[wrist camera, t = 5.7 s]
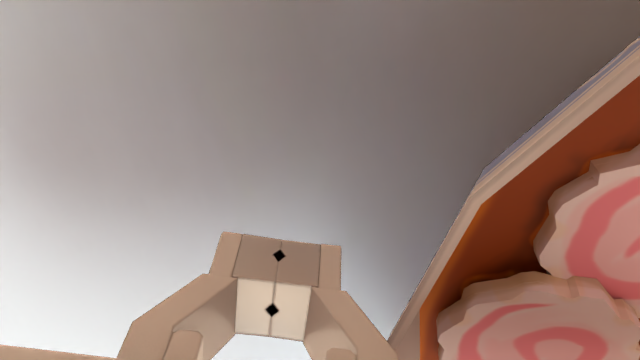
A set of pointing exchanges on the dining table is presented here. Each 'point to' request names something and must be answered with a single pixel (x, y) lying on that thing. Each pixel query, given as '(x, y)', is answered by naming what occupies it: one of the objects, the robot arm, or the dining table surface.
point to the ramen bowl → (544, 241)
